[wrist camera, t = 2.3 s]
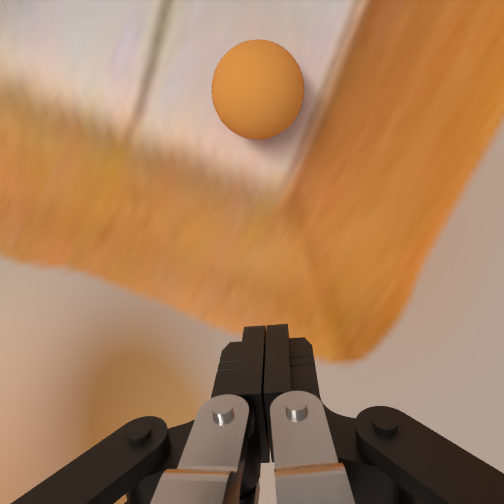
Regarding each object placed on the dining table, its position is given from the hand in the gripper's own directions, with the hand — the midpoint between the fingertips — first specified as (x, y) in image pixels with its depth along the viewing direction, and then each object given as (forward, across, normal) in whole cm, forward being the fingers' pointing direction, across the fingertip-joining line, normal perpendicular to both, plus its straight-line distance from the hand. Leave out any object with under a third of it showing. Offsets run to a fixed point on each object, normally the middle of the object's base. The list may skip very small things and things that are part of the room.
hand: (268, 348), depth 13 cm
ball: (+14, 0, -9) cm, 16 cm away
